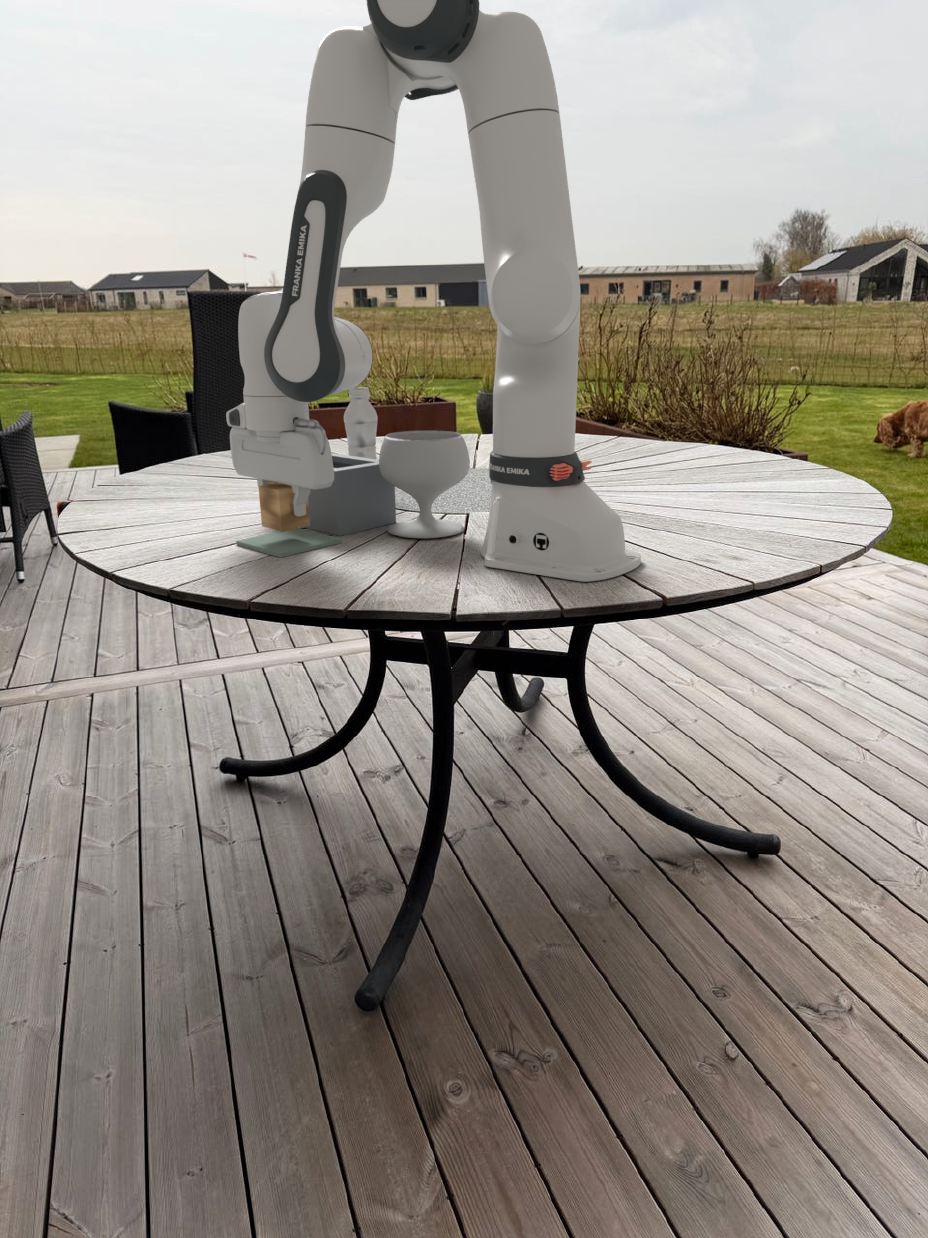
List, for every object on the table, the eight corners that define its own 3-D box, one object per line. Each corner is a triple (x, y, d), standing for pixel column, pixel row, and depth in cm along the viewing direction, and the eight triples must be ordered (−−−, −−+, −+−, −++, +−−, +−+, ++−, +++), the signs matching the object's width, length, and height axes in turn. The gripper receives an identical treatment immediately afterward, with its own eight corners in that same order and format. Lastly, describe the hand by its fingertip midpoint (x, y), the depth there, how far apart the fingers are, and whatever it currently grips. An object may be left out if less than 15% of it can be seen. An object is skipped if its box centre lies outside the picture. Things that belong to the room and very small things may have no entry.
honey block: (310, 525, 117) (307, 485, 115) (282, 531, 113) (278, 490, 111) (289, 520, 120) (286, 481, 118) (262, 526, 116) (258, 485, 114)
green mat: (341, 542, 118) (341, 538, 118) (280, 557, 110) (279, 553, 110) (297, 531, 125) (296, 527, 125) (236, 544, 117) (236, 540, 117)
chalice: (452, 518, 133) (450, 427, 128) (483, 536, 121) (483, 437, 116) (371, 525, 128) (367, 432, 123) (396, 545, 116) (392, 442, 111)
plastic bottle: (340, 495, 152) (333, 388, 146) (360, 489, 158) (355, 386, 151) (368, 498, 150) (362, 389, 143) (387, 492, 155) (383, 387, 148)
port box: (396, 522, 130) (393, 461, 127) (339, 535, 122) (335, 471, 118) (327, 508, 142) (323, 451, 138) (271, 519, 133) (266, 459, 130)
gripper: (341, 418, 107) (347, 518, 112) (255, 409, 120) (263, 499, 125) (304, 422, 102) (311, 526, 107) (219, 412, 115) (228, 505, 120)
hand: (285, 512), depth 116 cm, fingers closed on honey block, 5 cm apart
